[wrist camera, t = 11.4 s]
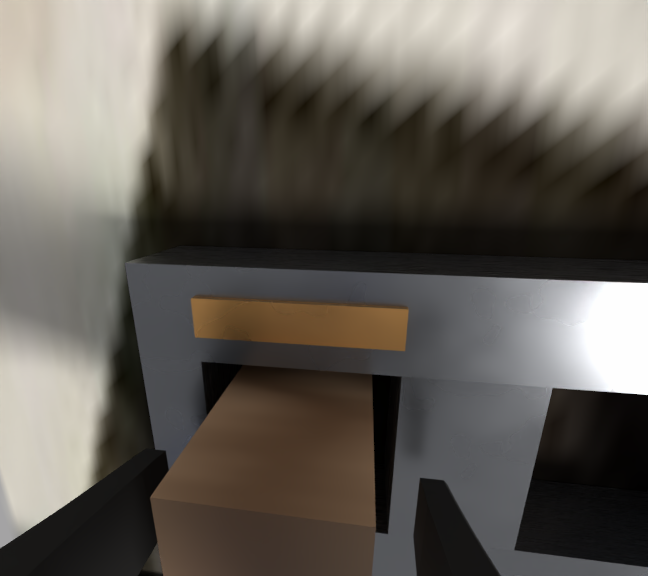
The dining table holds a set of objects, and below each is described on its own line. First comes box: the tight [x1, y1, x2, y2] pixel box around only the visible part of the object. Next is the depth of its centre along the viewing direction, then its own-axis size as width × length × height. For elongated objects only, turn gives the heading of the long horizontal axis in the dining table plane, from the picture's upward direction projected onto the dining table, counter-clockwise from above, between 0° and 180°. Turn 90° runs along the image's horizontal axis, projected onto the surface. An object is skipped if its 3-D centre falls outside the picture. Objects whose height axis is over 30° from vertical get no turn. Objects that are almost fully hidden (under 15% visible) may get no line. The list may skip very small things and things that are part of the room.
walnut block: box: [150, 365, 376, 576], centre depth 10 cm, size 4×4×7 cm
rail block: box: [125, 246, 648, 576], centre depth 11 cm, size 20×12×3 cm, turn 90°
